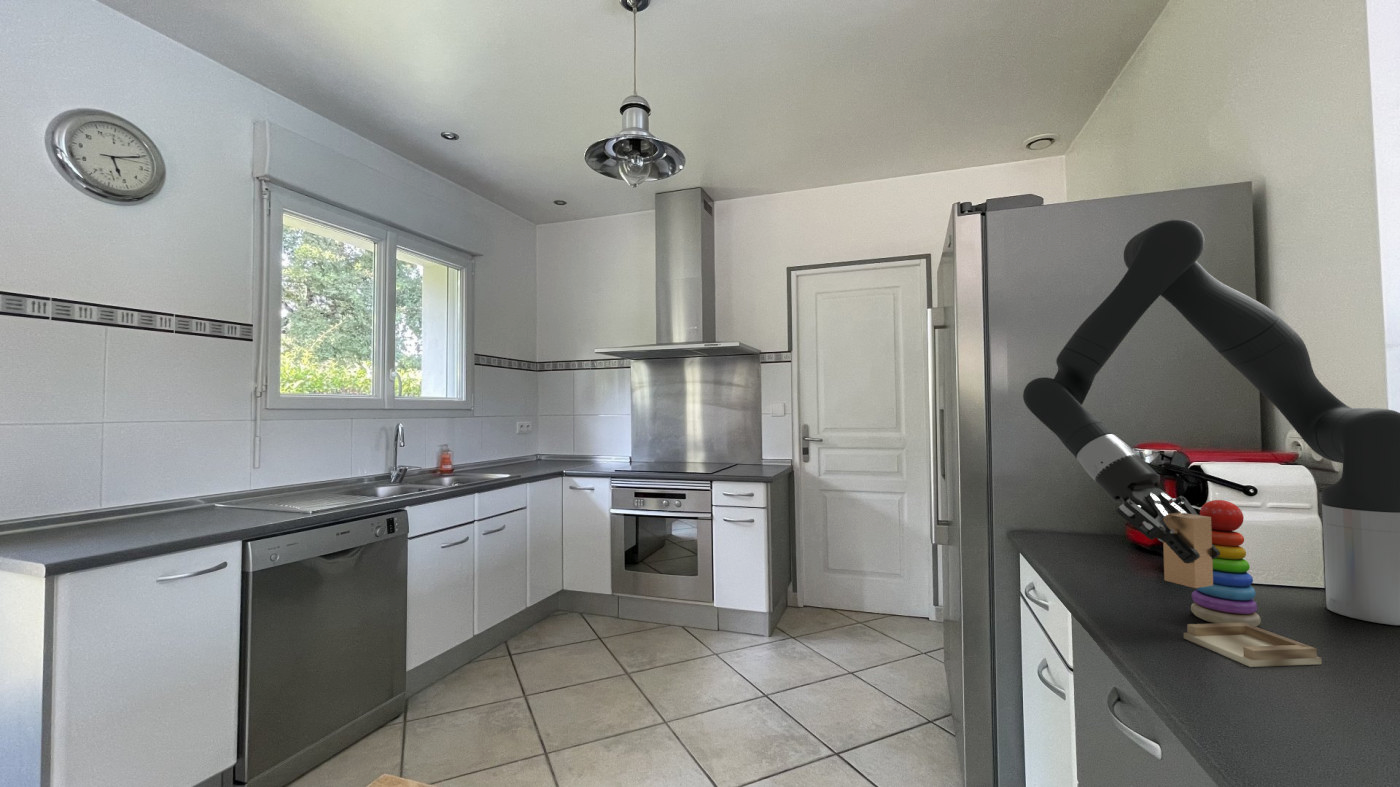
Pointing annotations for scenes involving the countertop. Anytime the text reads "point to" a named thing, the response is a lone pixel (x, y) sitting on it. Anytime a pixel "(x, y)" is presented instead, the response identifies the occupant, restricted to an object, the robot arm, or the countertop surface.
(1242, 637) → the wooden tray
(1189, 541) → the brown rectangular block
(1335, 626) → the countertop surface
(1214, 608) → the stacking toy
